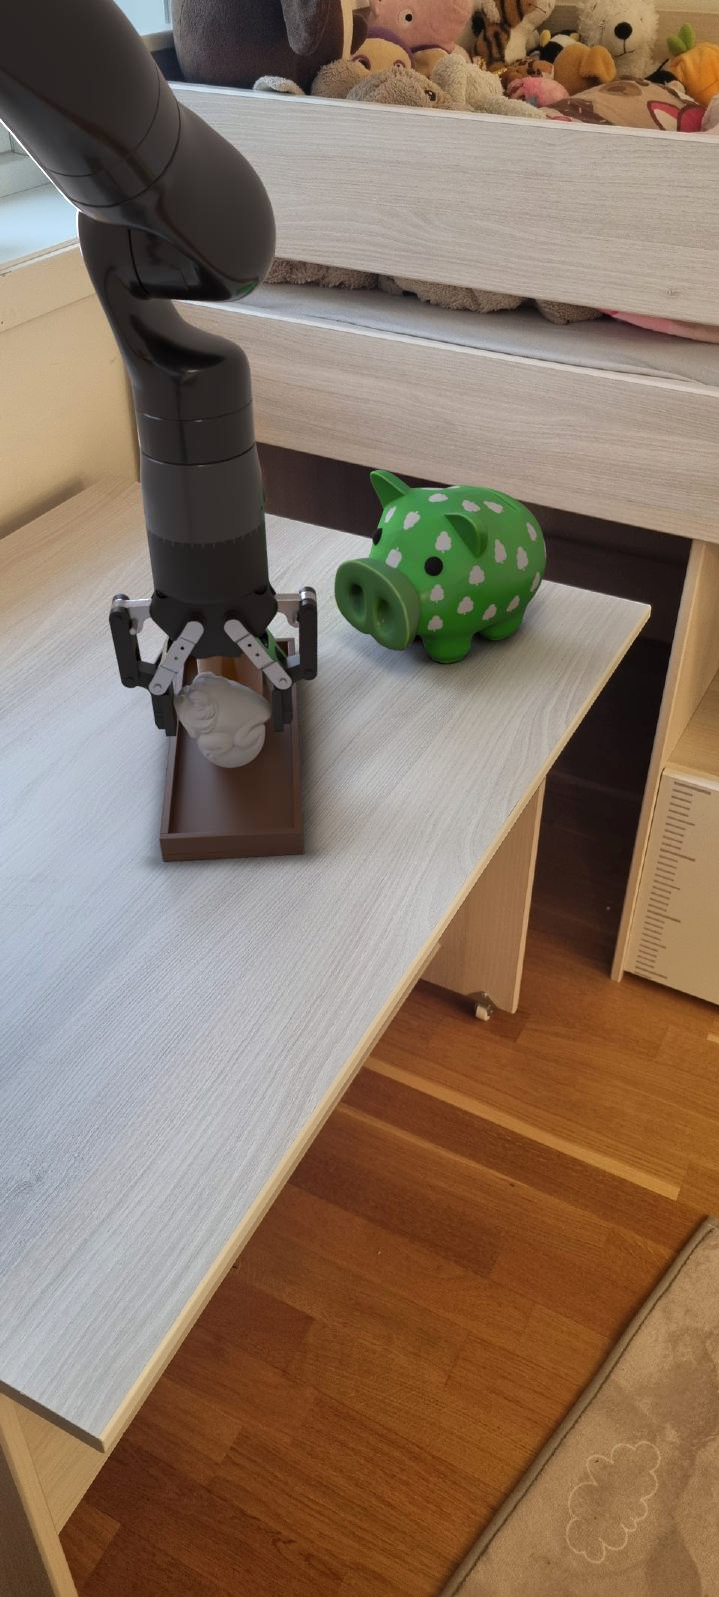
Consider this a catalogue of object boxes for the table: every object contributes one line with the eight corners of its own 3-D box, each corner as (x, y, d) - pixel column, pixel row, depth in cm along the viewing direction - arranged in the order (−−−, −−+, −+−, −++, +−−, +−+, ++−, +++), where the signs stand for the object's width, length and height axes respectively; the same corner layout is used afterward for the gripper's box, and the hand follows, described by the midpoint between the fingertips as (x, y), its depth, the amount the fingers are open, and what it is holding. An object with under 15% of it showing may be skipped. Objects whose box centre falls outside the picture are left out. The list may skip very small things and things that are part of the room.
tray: (303, 854, 87) (302, 832, 85) (162, 861, 86) (159, 839, 85) (295, 657, 108) (294, 637, 107) (182, 662, 108) (179, 642, 106)
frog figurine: (186, 737, 90) (176, 657, 85) (279, 736, 90) (274, 656, 85) (175, 786, 85) (164, 704, 81) (274, 786, 85) (268, 703, 80)
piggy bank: (321, 637, 111) (315, 483, 101) (465, 577, 119) (472, 431, 110) (422, 703, 102) (426, 541, 93) (570, 633, 111) (587, 479, 101)
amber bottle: (235, 760, 95) (222, 628, 87) (192, 736, 97) (176, 606, 90) (279, 732, 98) (270, 602, 90) (236, 710, 100) (225, 582, 93)
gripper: (82, 543, 72) (120, 764, 82) (320, 534, 73) (328, 754, 83) (96, 491, 78) (129, 703, 88) (316, 483, 79) (324, 694, 89)
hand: (226, 727), depth 85 cm, fingers closed on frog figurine, 7 cm apart
